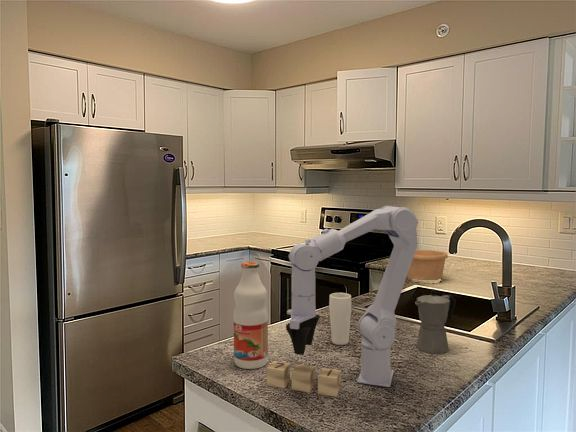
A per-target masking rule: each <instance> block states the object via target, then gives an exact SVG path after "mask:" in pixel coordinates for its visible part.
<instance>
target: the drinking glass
mask: <svg viewBox="0 0 576 432" xmlns="http://www.w3.org/2000/svg"><path fill="white" fill-rule="evenodd" d="M328 300H329V301H328V302H329V303H328V305H329V306H328V308H329V320H330V330H331V331H330V332H331V333H330V334H331V342H332V344H334V345H336V346H344V345H347V344H349V342H350V341H349V340H350V339H349V338H350V328H351V317H352V316H351V315H352V295H351V294H349V293H345V292H334V293H331V294H329V299H328Z"/></svg>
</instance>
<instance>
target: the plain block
mask: <svg viewBox="0 0 576 432" xmlns="http://www.w3.org/2000/svg"><path fill="white" fill-rule="evenodd" d="M315 385H316V366H311V365H305V364H296V366H295V367H294V368H293V369H292V371H291V390H292V391H299V392H306V393H311V391H312V390H313V388H314V386H315Z"/></svg>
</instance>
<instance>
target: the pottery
mask: <svg viewBox="0 0 576 432" xmlns="http://www.w3.org/2000/svg"><path fill="white" fill-rule="evenodd" d="M448 255H449V254H448V253H447V252H444V251H440V250H433V249H432V250H431V249H416V252H415V255H414V257H413V260H412V263H411V266H410V269H409V271H408V274H407V277H406V278H407V281H409V280H412V279H417V280H438V279H441V278H442V279H443V274H444V268H445V262H446V259H448V257H449V256H448Z"/></svg>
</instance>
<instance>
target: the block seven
mask: <svg viewBox="0 0 576 432" xmlns="http://www.w3.org/2000/svg"><path fill="white" fill-rule="evenodd" d="M290 381H291V363H289V362H283V361H282V362H281V361H276V360H273V361H272V362H271V363H270V364H269V365H268V366H267V367H266V386H268V387H272V388H273V387H275V388H278V389H285V388H286V386H287V385H288V384H289V383H290Z"/></svg>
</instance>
